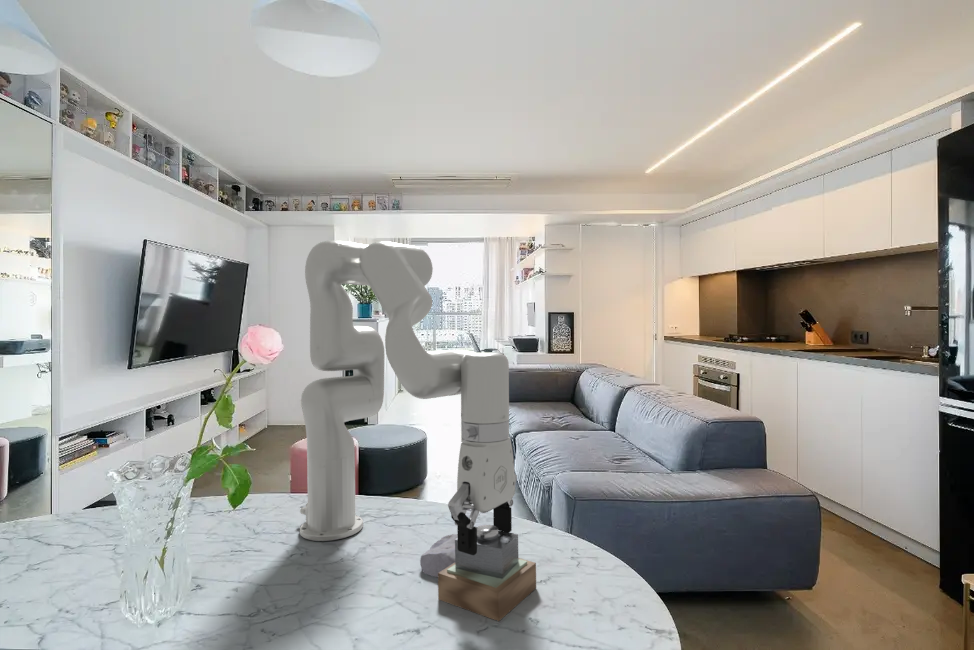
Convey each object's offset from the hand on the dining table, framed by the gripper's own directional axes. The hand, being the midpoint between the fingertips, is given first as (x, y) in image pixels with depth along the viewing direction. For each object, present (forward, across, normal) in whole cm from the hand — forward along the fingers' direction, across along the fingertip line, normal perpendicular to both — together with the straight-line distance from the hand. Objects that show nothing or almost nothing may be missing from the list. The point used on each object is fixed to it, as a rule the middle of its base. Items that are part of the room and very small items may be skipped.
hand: (485, 540), depth 80 cm
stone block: (+9, +6, +11) cm, 15 cm away
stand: (+8, 0, 0) cm, 8 cm away
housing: (+4, 0, 0) cm, 4 cm away
